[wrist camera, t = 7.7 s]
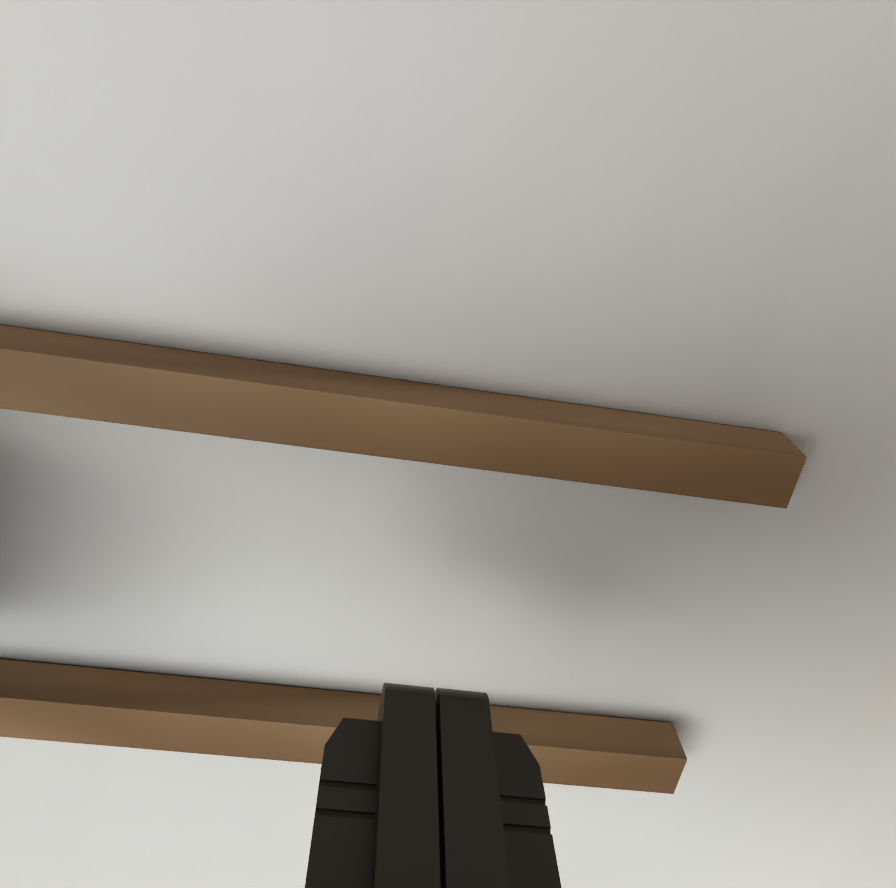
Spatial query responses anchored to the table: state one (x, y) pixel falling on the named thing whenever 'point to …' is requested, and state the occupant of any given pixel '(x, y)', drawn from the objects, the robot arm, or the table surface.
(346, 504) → the table surface
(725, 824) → the table surface
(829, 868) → the table surface
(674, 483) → the pair of wooden rails
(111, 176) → the table surface
